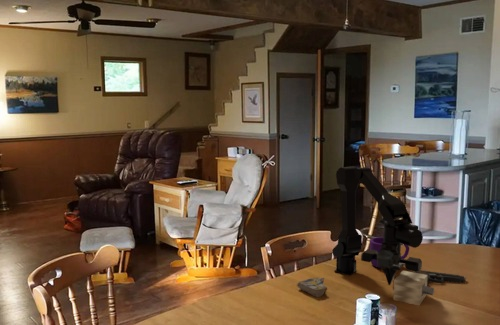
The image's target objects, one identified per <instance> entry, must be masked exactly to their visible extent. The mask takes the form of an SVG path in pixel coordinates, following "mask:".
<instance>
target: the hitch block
mask: <svg viewBox="0 0 500 325" xmlns="http://www.w3.org/2000/svg"><path fill="white" fill-rule="evenodd" d="M413 272H414V271H409V270H401V272H400V273H398V275H397V276H395V277H396V278H395V277H394V278H395V279H394V278H393V281H394V291H393V301H397V302H401V303H406V304H411V305H415V306H420V305H421V304H422V302H423V301H424V300H425V298H426V296H427V295H428V294H423V293H422V286H427V275H424V274H419V273H413Z"/></svg>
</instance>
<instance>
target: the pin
mask: <svg viewBox="0 0 500 325" xmlns="http://www.w3.org/2000/svg"><path fill="white" fill-rule="evenodd" d="M396 277H397V276H394V278H393V281H392V290H393V292H394V279H395V278H396ZM422 293H423V294H427V295H429V296H434V293H435V287H433V286H428V287H427V286H422Z"/></svg>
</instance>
